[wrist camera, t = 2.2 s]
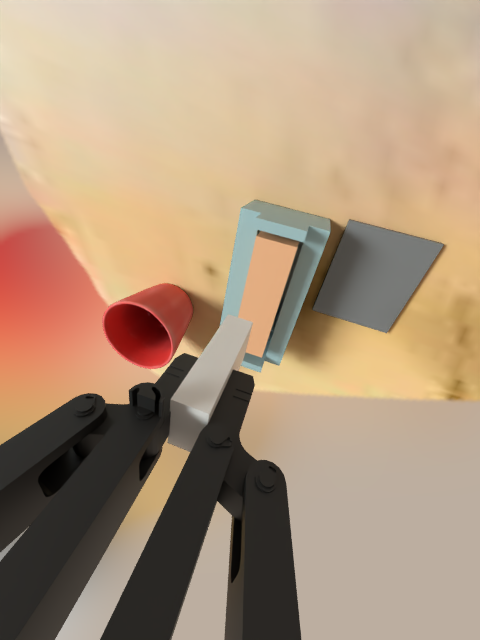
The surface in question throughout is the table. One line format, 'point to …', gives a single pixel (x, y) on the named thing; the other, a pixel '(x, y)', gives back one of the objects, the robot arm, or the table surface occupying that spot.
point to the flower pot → (148, 325)
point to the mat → (374, 275)
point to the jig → (304, 265)
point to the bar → (265, 286)
